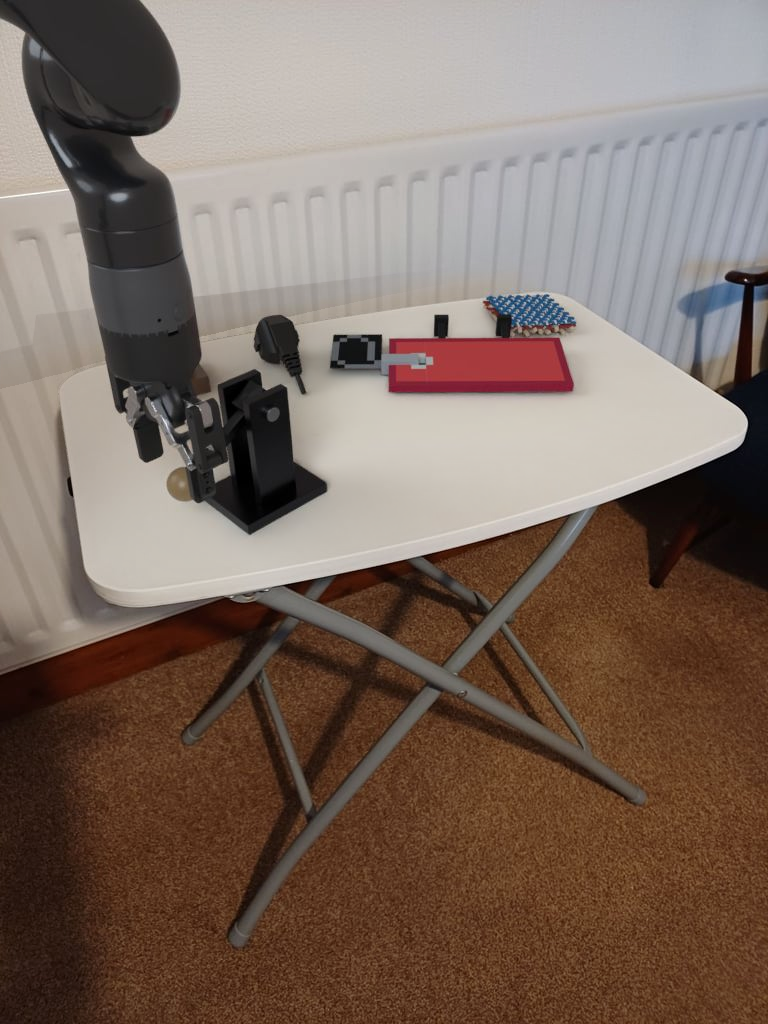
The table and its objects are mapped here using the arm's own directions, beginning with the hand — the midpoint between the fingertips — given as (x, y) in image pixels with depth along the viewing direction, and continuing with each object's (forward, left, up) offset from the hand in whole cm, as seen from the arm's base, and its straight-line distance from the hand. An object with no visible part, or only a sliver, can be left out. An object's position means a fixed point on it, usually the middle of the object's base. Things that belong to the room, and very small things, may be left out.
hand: (177, 477), depth 71 cm
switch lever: (+5, +1, 0) cm, 6 cm away
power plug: (+21, +25, -7) cm, 33 cm away
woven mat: (+57, +22, -7) cm, 61 cm away
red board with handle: (+40, +17, -7) cm, 44 cm away
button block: (+7, +29, -7) cm, 31 cm away
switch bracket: (+9, +2, -7) cm, 11 cm away
